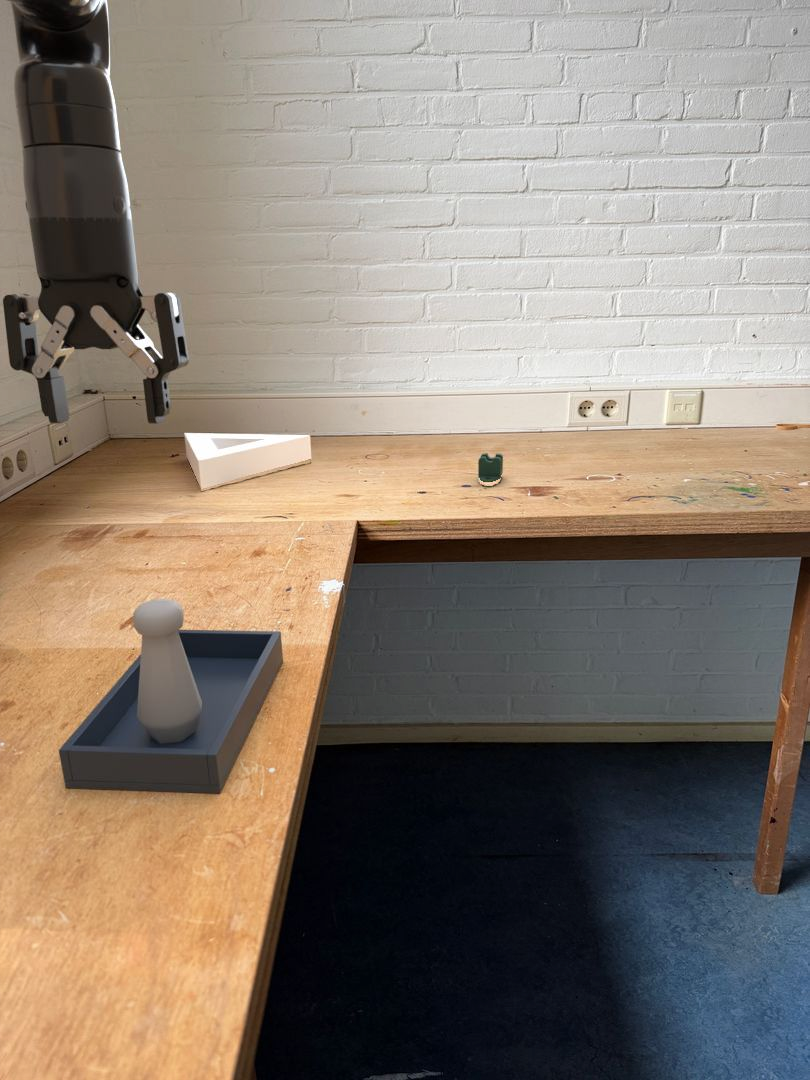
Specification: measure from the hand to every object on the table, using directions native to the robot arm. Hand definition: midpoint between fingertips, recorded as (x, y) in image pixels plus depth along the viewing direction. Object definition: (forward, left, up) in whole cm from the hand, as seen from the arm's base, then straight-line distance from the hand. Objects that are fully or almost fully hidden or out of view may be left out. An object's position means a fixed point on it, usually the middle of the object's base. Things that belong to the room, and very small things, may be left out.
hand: (107, 422), depth 67 cm
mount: (+35, +94, -30) cm, 105 cm away
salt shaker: (+3, -2, -29) cm, 29 cm away
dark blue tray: (+3, +2, -30) cm, 30 cm away
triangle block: (-21, +97, -30) cm, 104 cm away
